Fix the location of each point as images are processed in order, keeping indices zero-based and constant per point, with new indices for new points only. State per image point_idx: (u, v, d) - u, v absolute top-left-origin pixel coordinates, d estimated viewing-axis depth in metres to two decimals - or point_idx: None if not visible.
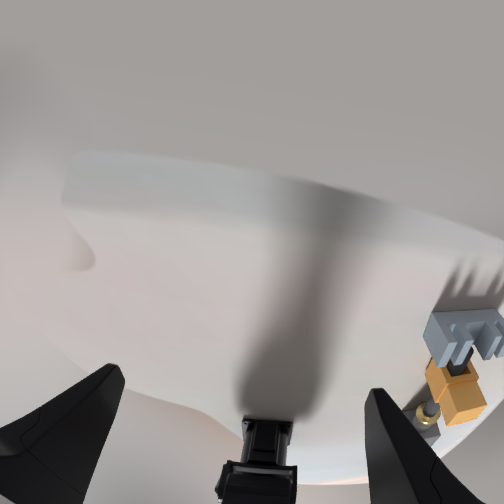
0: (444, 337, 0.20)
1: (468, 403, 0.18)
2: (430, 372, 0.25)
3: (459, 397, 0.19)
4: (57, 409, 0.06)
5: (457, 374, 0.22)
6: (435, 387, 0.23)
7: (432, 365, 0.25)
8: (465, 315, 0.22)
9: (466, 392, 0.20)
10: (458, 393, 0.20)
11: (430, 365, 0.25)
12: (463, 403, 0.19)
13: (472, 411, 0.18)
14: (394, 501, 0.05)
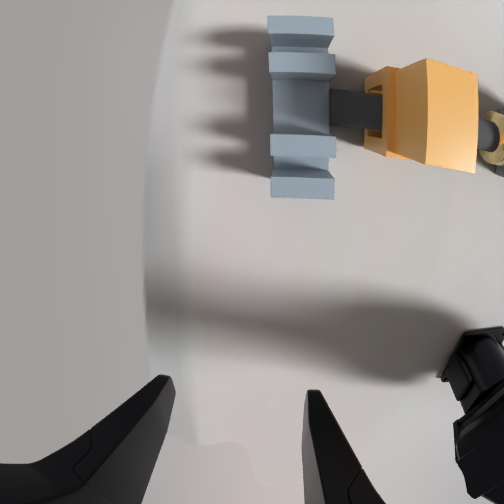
0: None
1: (419, 117, 0.09)
2: None
3: (408, 136, 0.10)
4: (111, 431, 0.06)
5: None
6: None
7: None
8: None
9: (405, 110, 0.10)
10: (404, 133, 0.10)
11: None
12: (417, 132, 0.09)
13: (440, 105, 0.08)
14: None
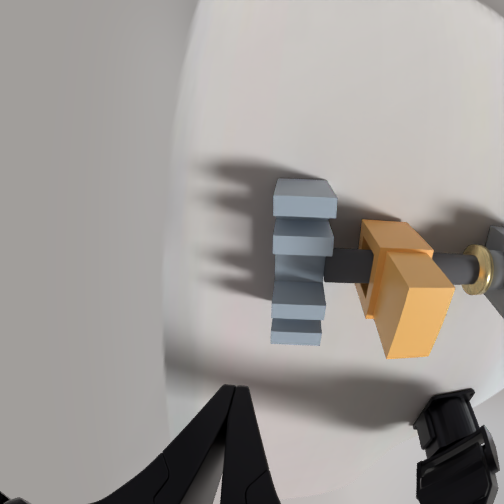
0: None
1: (391, 321, 0.12)
2: None
3: (383, 322, 0.13)
4: (188, 452, 0.06)
5: None
6: None
7: None
8: None
9: (386, 299, 0.13)
10: (381, 314, 0.14)
11: None
12: (388, 329, 0.12)
13: (410, 321, 0.11)
14: None
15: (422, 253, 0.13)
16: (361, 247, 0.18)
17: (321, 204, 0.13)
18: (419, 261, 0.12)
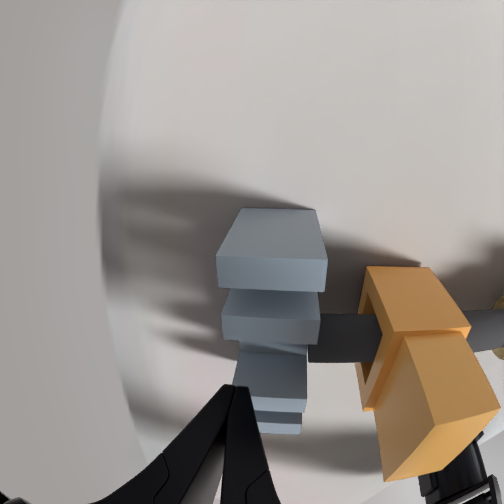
0: None
1: (398, 443, 0.07)
2: None
3: (386, 431, 0.08)
4: (189, 452, 0.06)
5: None
6: None
7: None
8: None
9: (394, 405, 0.08)
10: (385, 419, 0.08)
11: None
12: (391, 448, 0.07)
13: (425, 452, 0.06)
14: None
15: (455, 333, 0.08)
16: (363, 306, 0.12)
17: (299, 270, 0.08)
18: (452, 354, 0.07)
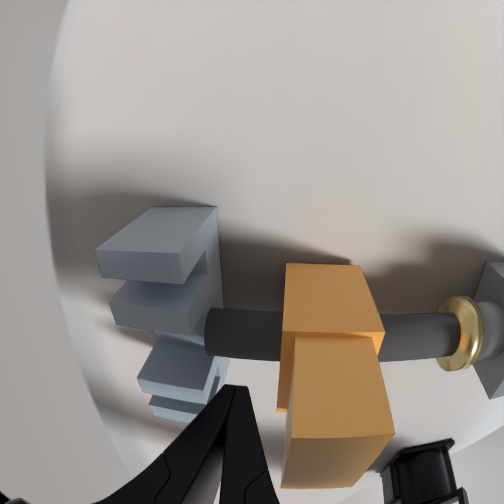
0: None
1: (285, 450, 0.07)
2: None
3: (285, 435, 0.08)
4: (189, 453, 0.06)
5: (275, 356, 0.11)
6: None
7: None
8: None
9: (288, 408, 0.08)
10: None
11: None
12: (284, 454, 0.07)
13: (306, 465, 0.06)
14: None
15: (362, 338, 0.08)
16: None
17: (157, 263, 0.08)
18: (348, 361, 0.07)
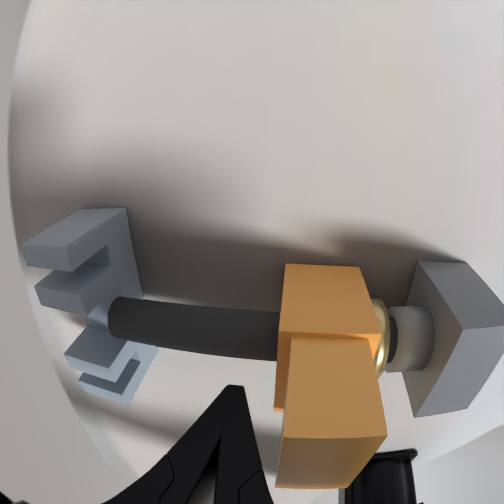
0: None
1: (280, 449, 0.07)
2: None
3: (281, 435, 0.08)
4: (193, 453, 0.06)
5: (163, 343, 0.11)
6: None
7: None
8: None
9: None
10: None
11: None
12: (279, 453, 0.07)
13: (299, 464, 0.06)
14: None
15: (359, 339, 0.08)
16: None
17: (54, 254, 0.09)
18: (343, 362, 0.07)
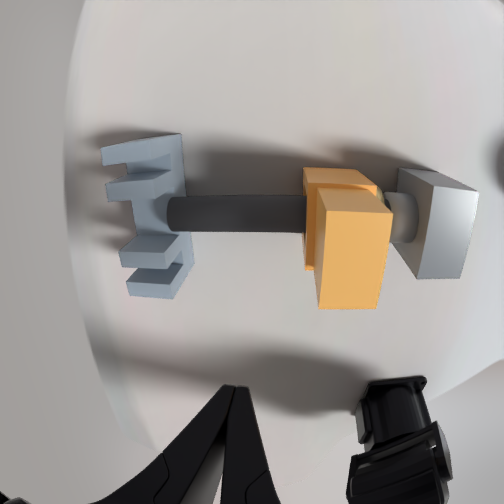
0: None
1: (320, 261, 0.11)
2: None
3: (317, 267, 0.12)
4: (189, 452, 0.06)
5: (214, 222, 0.15)
6: None
7: None
8: None
9: (317, 239, 0.12)
10: (316, 260, 0.13)
11: None
12: (319, 273, 0.12)
13: (338, 257, 0.10)
14: None
15: (362, 189, 0.12)
16: None
17: (136, 148, 0.13)
18: (354, 194, 0.12)
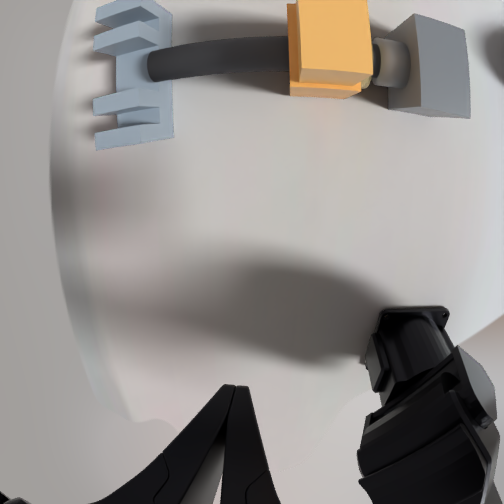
0: None
1: (299, 30, 0.08)
2: (329, 95, 0.14)
3: (299, 55, 0.09)
4: (188, 452, 0.06)
5: (194, 58, 0.12)
6: (333, 92, 0.12)
7: (310, 95, 0.14)
8: None
9: (298, 34, 0.09)
10: None
11: (318, 96, 0.15)
12: (299, 45, 0.08)
13: (315, 11, 0.07)
14: None
15: None
16: None
17: (129, 0, 0.10)
18: None
